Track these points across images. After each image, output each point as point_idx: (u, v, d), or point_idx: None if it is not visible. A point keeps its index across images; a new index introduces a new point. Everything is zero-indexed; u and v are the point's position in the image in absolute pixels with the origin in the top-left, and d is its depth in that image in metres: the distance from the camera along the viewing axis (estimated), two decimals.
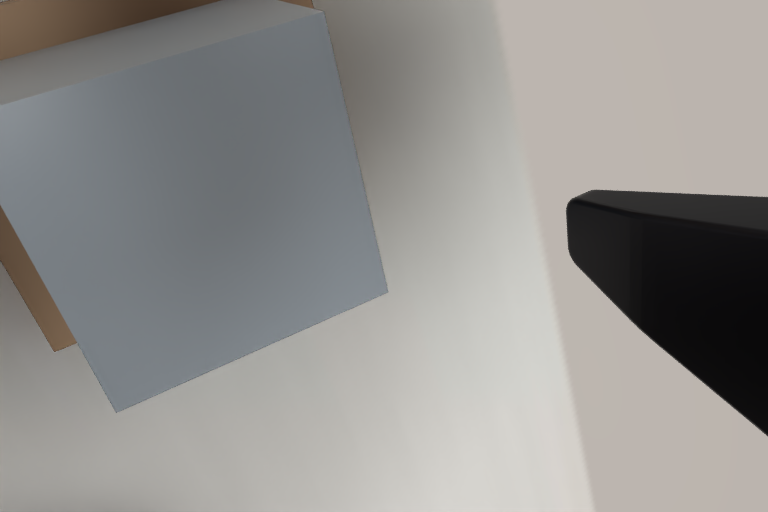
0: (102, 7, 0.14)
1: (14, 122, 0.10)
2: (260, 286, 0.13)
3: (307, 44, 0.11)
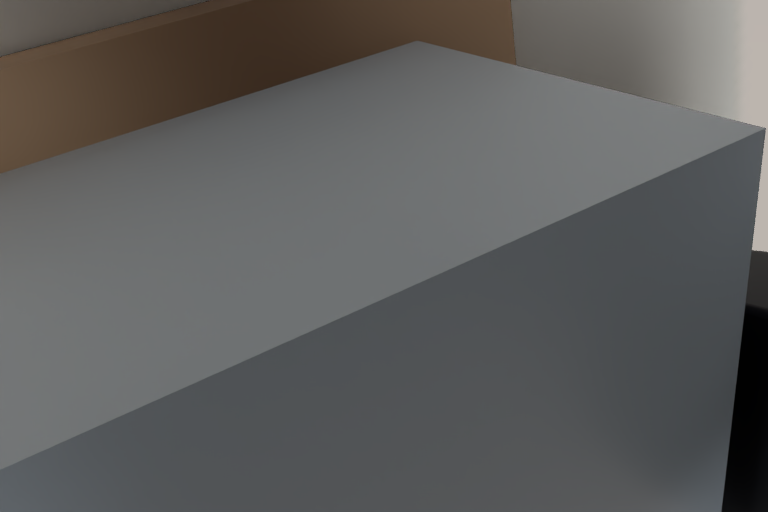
0: (163, 76, 0.07)
1: None
2: None
3: (714, 208, 0.05)
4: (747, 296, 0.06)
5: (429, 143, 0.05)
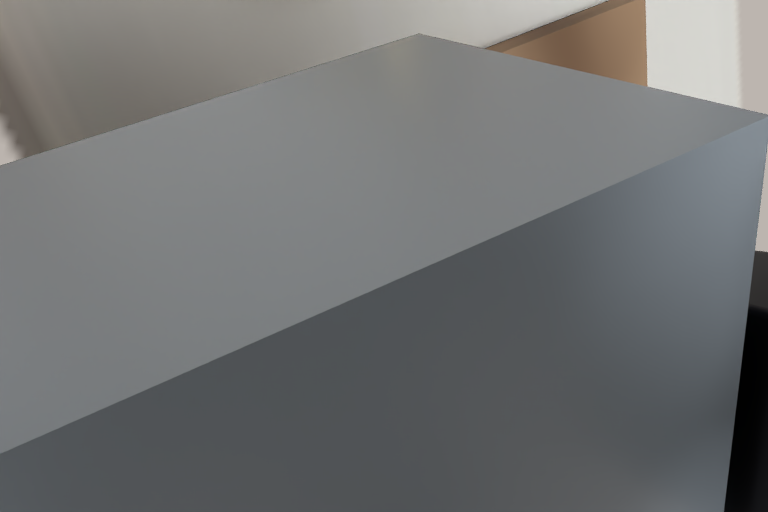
0: (537, 54, 0.22)
1: None
2: None
3: (718, 196, 0.04)
4: None
5: (431, 132, 0.05)
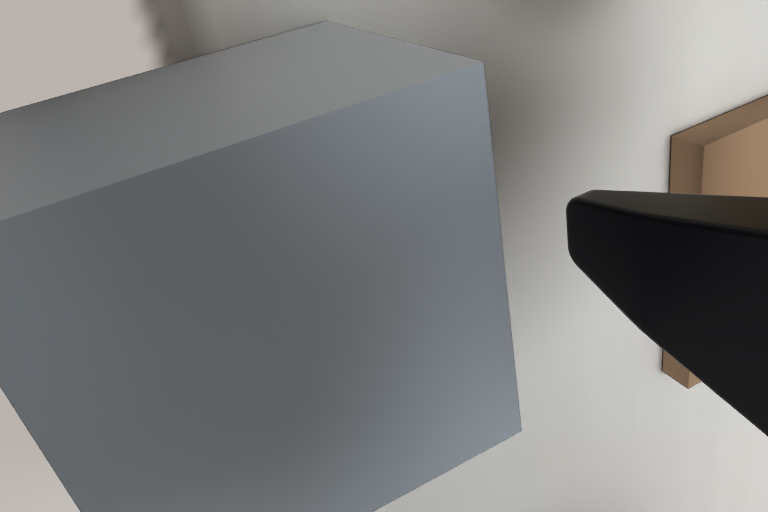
0: None
1: (15, 248, 0.06)
2: (361, 443, 0.09)
3: (456, 110, 0.08)
4: None
5: (299, 77, 0.08)
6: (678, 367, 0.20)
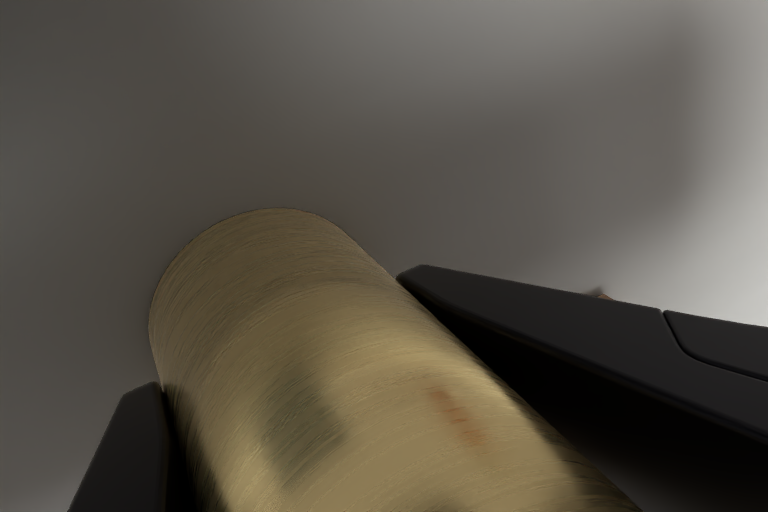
0: None
1: None
2: None
3: None
4: (624, 363, 0.05)
5: None
6: None
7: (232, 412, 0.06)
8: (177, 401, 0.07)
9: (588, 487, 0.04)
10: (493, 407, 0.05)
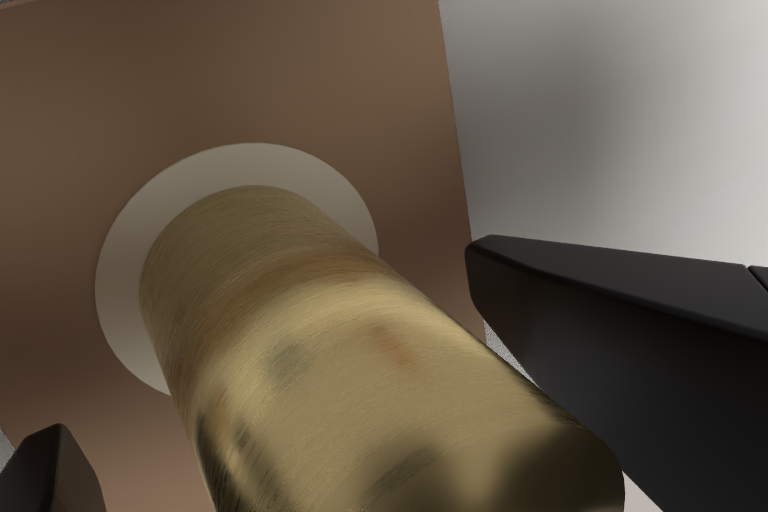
0: None
1: None
2: None
3: None
4: (720, 311, 0.06)
5: None
6: None
7: (221, 350, 0.06)
8: (169, 352, 0.07)
9: (521, 389, 0.05)
10: (444, 332, 0.06)
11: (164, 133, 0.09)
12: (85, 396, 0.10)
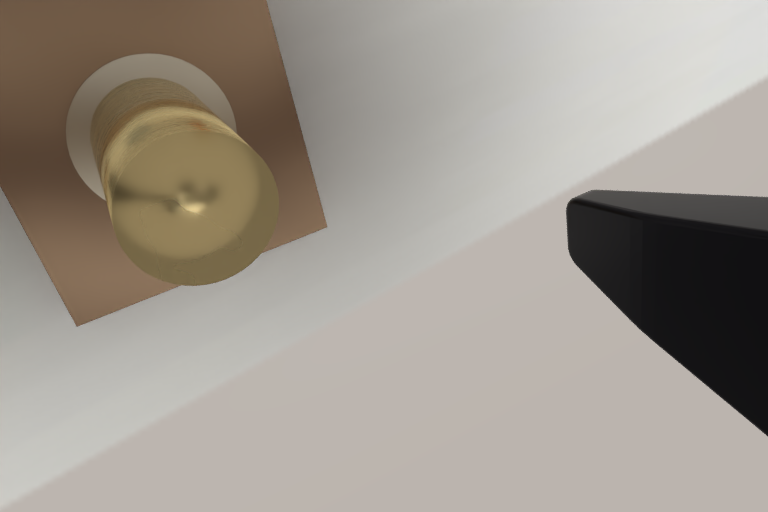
0: None
1: None
2: None
3: None
4: None
5: None
6: None
7: (112, 131, 0.14)
8: (96, 147, 0.15)
9: (221, 129, 0.13)
10: (204, 117, 0.13)
11: (102, 45, 0.16)
12: (61, 198, 0.17)
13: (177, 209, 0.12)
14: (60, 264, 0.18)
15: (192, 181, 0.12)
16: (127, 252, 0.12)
